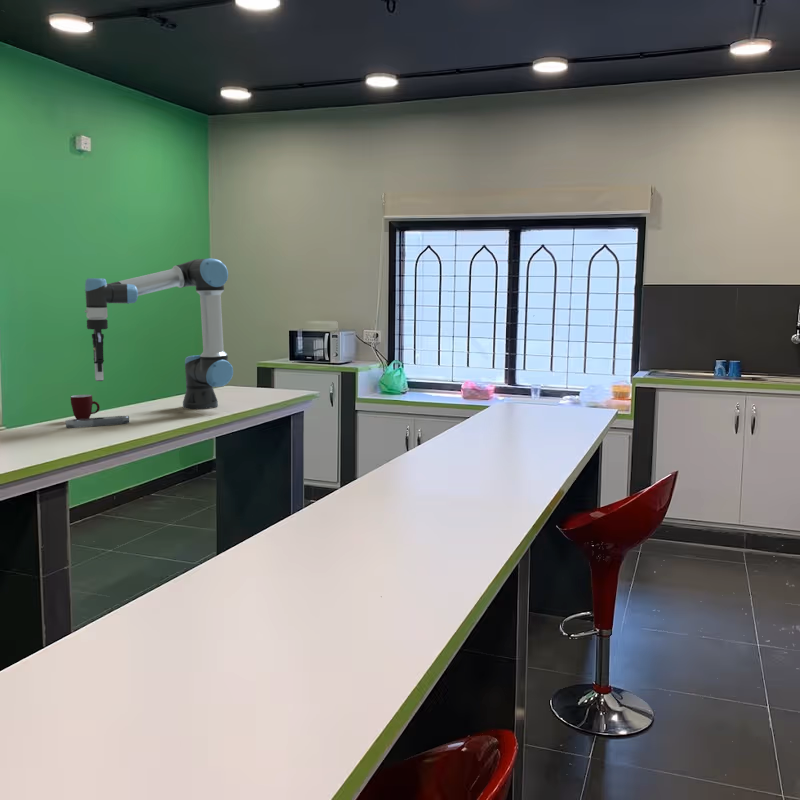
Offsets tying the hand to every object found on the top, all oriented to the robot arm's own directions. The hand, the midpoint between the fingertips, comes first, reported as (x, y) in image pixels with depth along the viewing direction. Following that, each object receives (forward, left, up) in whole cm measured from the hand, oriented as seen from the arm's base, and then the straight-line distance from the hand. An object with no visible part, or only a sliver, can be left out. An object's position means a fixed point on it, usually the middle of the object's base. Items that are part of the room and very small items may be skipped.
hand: (99, 379), depth 306 cm
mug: (+5, -13, -18) cm, 22 cm away
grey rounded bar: (+2, +1, -18) cm, 18 cm away
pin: (0, 0, -1) cm, 1 cm away
